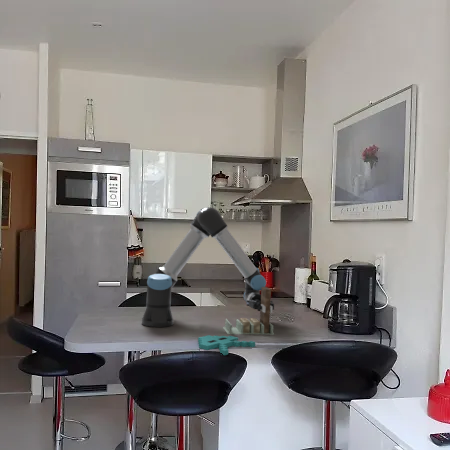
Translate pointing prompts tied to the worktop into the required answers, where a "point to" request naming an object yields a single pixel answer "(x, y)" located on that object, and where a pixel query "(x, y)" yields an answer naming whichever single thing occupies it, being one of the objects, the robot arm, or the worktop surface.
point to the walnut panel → (266, 302)
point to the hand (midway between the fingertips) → (268, 309)
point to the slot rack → (239, 328)
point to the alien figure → (221, 343)
